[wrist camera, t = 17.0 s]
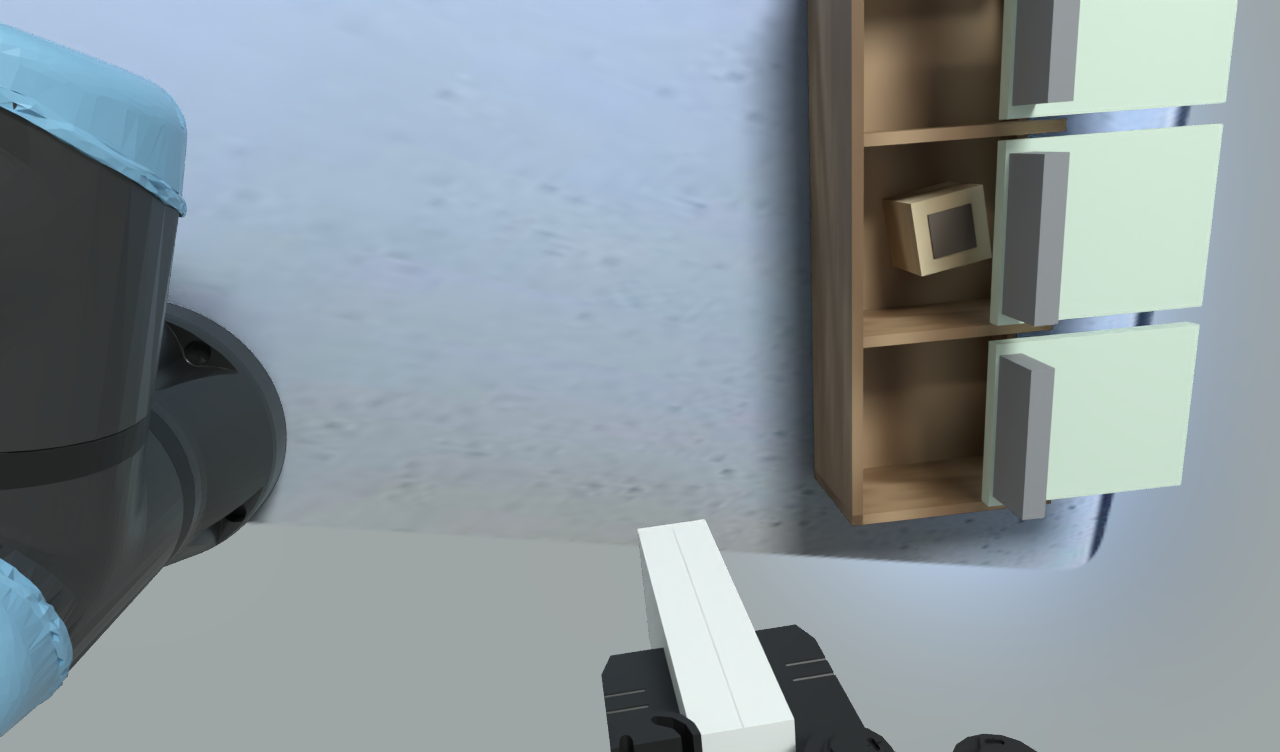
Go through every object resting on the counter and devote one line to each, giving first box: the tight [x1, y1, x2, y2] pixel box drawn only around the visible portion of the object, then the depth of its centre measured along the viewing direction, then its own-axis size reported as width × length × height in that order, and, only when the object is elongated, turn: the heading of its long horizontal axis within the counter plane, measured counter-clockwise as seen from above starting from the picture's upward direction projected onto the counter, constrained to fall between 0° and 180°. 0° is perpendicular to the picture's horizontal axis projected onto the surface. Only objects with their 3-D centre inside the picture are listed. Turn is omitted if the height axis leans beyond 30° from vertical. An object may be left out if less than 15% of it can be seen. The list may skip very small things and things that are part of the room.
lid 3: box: [982, 322, 1199, 520], centre depth 44 cm, size 11×9×4 cm
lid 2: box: [990, 124, 1223, 326], centre depth 41 cm, size 11×9×4 cm
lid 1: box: [999, 0, 1238, 120], centre depth 38 cm, size 11×9×4 cm
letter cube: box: [882, 181, 992, 276], centre depth 46 cm, size 4×4×4 cm
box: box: [807, 0, 1067, 526], centre depth 46 cm, size 12×31×7 cm, turn 4°
